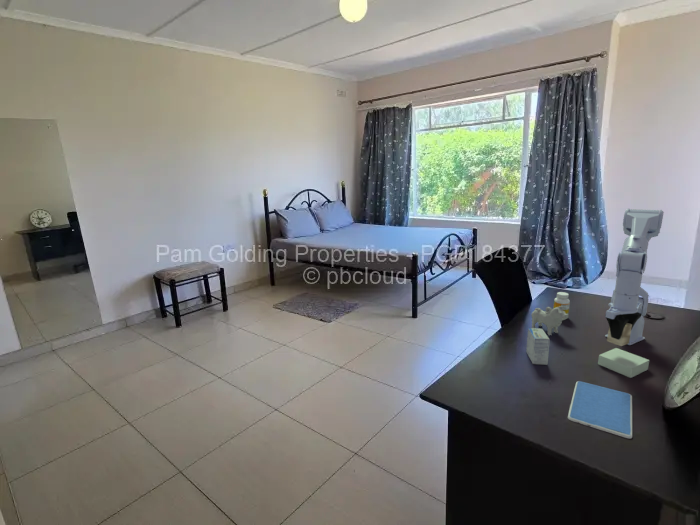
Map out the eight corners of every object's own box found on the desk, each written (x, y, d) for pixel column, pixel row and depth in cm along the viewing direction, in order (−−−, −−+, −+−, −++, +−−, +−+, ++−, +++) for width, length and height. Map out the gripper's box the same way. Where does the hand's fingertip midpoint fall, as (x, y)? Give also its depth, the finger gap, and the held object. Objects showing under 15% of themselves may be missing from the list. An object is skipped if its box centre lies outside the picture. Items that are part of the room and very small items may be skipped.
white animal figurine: (560, 340, 130) (563, 311, 127) (527, 327, 141) (530, 300, 138) (569, 336, 132) (573, 308, 129) (537, 324, 143) (539, 297, 141)
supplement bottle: (550, 314, 152) (552, 291, 150) (564, 314, 151) (567, 291, 149) (555, 319, 147) (558, 295, 144) (570, 319, 146) (573, 295, 144)
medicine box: (547, 365, 114) (550, 339, 112) (531, 364, 115) (534, 338, 113) (540, 353, 121) (543, 328, 119) (525, 352, 122) (527, 327, 120)
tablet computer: (631, 441, 83) (632, 436, 82) (566, 421, 90) (567, 416, 90) (631, 398, 98) (632, 393, 97) (575, 383, 105) (576, 379, 105)
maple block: (614, 338, 115) (617, 319, 113) (628, 343, 111) (632, 324, 110) (606, 341, 113) (609, 322, 111) (621, 346, 109) (624, 327, 108)
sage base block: (614, 356, 118) (616, 347, 117) (647, 369, 110) (649, 360, 109) (597, 364, 114) (599, 355, 113) (630, 377, 106) (632, 368, 105)
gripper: (625, 285, 115) (619, 326, 118) (597, 293, 108) (591, 336, 112) (652, 291, 109) (644, 334, 112) (623, 300, 102) (616, 346, 105)
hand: (619, 336), depth 111 cm, fingers closed on maple block, 4 cm apart
